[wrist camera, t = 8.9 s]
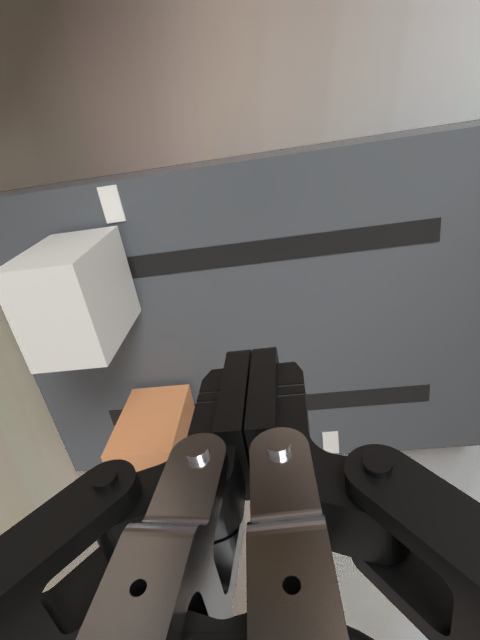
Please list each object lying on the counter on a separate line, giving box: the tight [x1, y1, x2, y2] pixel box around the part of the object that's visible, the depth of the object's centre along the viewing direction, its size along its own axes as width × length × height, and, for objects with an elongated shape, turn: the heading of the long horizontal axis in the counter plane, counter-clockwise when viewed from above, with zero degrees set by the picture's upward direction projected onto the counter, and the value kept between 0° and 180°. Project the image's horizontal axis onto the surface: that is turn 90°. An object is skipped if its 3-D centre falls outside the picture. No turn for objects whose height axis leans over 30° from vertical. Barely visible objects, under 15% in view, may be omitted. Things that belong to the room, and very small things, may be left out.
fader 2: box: [101, 384, 195, 472], centre depth 25 cm, size 4×5×6 cm
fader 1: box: [0, 226, 141, 374], centre depth 20 cm, size 4×5×6 cm
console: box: [0, 120, 480, 471], centre depth 25 cm, size 28×19×3 cm
